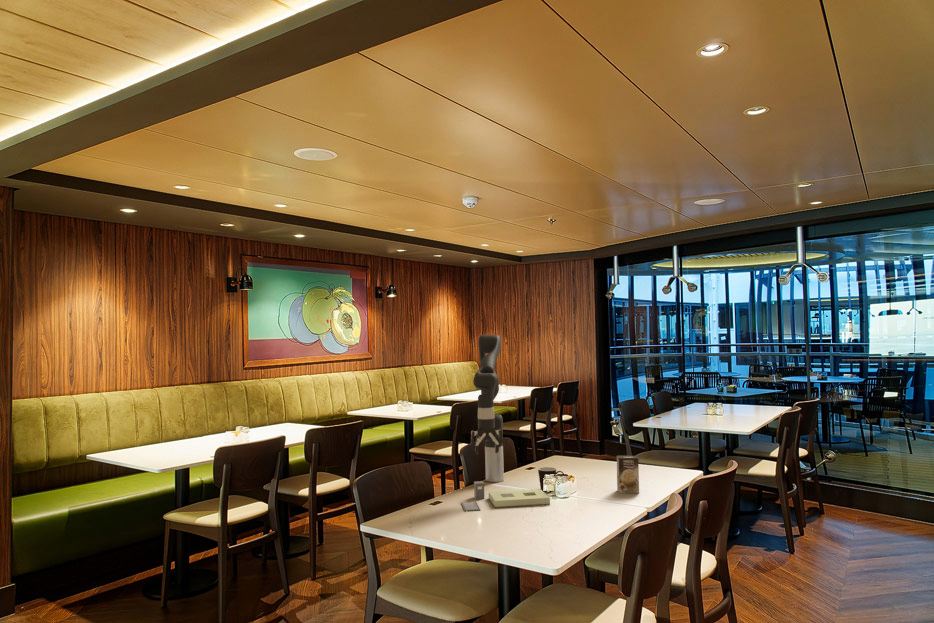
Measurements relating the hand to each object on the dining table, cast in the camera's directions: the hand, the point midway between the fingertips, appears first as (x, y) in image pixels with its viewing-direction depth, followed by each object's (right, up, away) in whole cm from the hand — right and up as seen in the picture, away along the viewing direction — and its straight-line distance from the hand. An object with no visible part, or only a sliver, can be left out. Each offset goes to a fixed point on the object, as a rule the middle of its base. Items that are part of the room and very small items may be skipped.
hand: (487, 453), depth 271 cm
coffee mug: (+30, -20, +11) cm, 38 cm away
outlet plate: (+14, -20, -7) cm, 25 cm away
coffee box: (+65, -19, +6) cm, 69 cm away
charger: (-3, -20, +1) cm, 21 cm away
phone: (-8, -20, -14) cm, 26 cm away
